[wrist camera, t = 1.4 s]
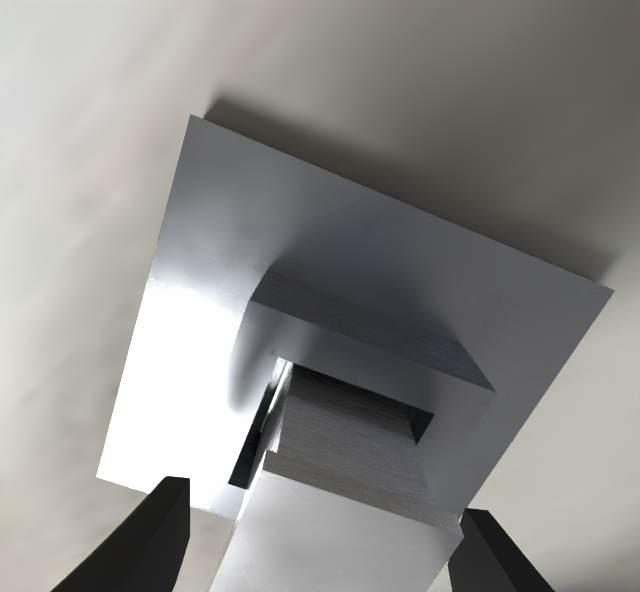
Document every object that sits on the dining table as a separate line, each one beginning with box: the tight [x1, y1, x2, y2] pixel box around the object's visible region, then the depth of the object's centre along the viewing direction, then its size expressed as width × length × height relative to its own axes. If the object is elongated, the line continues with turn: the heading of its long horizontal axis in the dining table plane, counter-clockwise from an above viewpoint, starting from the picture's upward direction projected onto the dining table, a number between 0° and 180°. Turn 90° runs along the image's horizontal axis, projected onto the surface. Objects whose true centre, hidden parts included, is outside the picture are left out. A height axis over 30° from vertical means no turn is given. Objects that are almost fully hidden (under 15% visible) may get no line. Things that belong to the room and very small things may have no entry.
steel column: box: [206, 361, 464, 592], centre depth 12 cm, size 5×5×7 cm
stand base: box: [97, 114, 614, 521], centre depth 15 cm, size 16×16×4 cm
